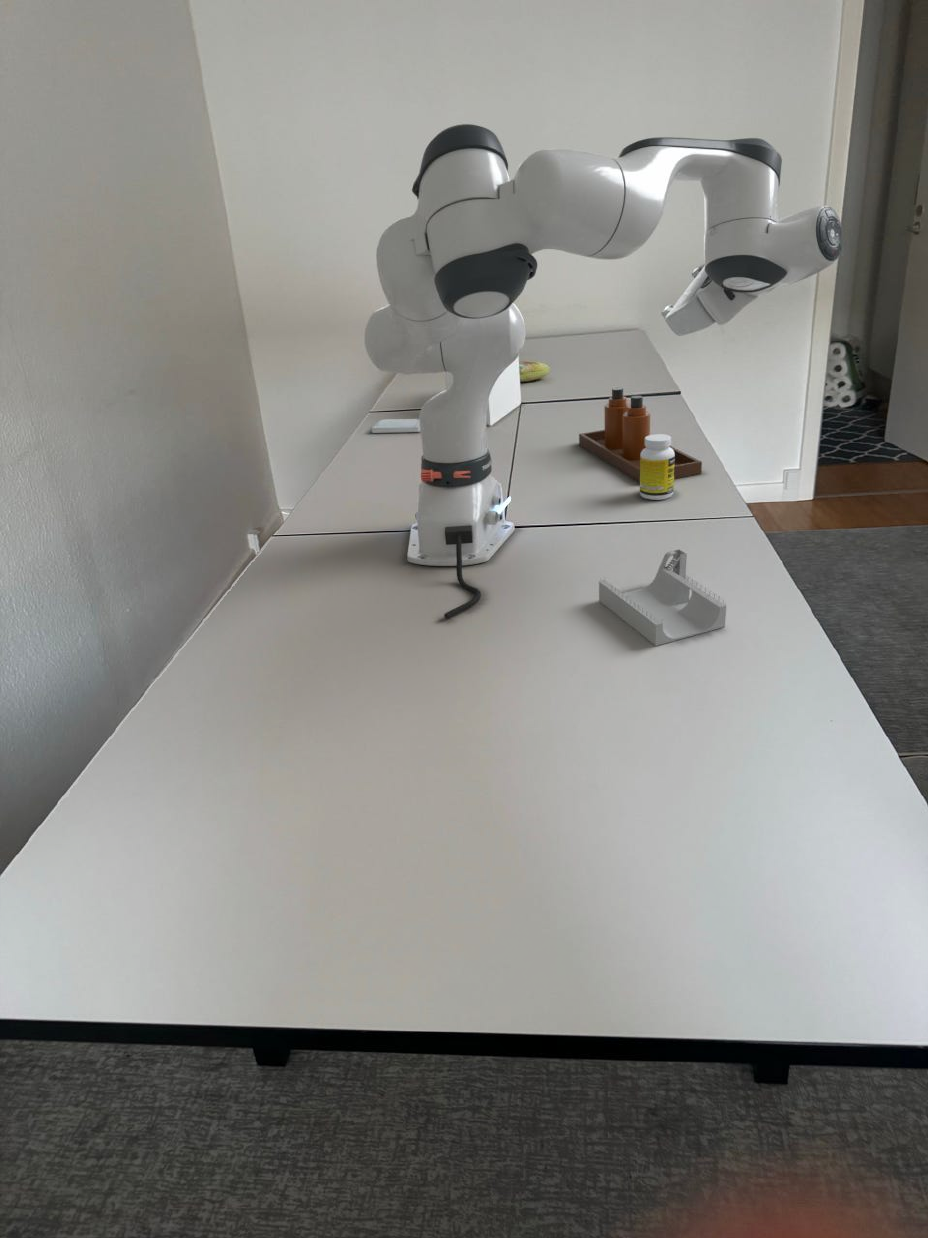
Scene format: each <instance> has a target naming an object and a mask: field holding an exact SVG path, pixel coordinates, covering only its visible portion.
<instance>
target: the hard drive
mask: <svg viewBox="0 0 928 1238" xmlns="http://www.w3.org/2000/svg"><path fill="white" fill-rule="evenodd" d="M371 432H372V434H392V433H393V434H395V433H396V434H397V433H421V430H420V421H419V418H395V419H394V418H392V419H386V418H385V419H380V420H378V421H377V423H376V424H374V425H372V427H371Z"/></svg>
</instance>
